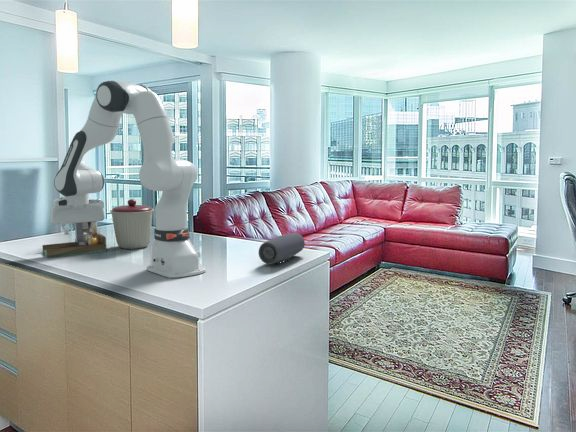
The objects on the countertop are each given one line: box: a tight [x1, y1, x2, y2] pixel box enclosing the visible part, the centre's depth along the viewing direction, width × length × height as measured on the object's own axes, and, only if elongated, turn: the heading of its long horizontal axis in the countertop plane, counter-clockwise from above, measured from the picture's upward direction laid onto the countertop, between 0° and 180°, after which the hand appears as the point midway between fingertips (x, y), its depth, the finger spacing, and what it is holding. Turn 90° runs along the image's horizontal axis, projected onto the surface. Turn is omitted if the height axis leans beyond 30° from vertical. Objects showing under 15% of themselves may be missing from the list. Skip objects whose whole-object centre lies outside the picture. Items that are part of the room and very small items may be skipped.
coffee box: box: [82, 221, 99, 241], centre depth 199 cm, size 9×6×16 cm
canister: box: [109, 198, 155, 250], centre depth 193 cm, size 18×18×21 cm
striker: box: [74, 222, 85, 247], centre depth 184 cm, size 8×2×11 cm, turn 36°
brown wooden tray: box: [42, 232, 107, 259], centre depth 183 cm, size 12×22×7 cm, turn 126°
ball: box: [91, 238, 99, 245], centre depth 188 cm, size 4×4×4 cm
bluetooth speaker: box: [258, 232, 306, 265], centre depth 171 cm, size 23×9×10 cm, turn 152°
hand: (79, 233), depth 184 cm, fingers open, 8 cm apart
